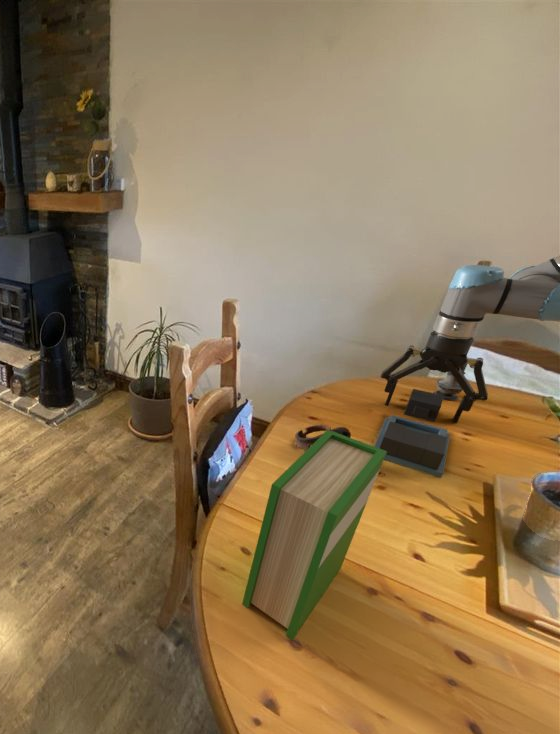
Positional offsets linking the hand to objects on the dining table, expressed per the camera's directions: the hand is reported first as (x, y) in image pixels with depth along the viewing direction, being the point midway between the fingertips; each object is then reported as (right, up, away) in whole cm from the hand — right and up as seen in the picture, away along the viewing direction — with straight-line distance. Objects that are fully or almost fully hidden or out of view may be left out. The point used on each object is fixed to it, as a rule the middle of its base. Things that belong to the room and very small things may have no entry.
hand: (419, 411), depth 107 cm
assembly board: (-13, -7, -12) cm, 19 cm away
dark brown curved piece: (-33, -9, -12) cm, 37 cm away
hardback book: (-57, -25, -40) cm, 74 cm away
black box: (0, 0, 0) cm, 0 cm away
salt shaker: (+13, +4, +6) cm, 15 cm away
